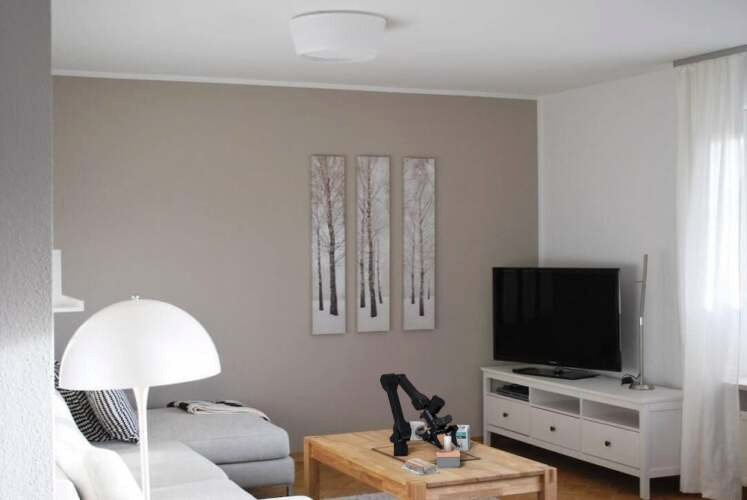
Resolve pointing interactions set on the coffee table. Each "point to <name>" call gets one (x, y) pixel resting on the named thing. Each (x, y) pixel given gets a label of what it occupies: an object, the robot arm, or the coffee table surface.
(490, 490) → the coffee table surface
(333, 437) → the coffee table surface
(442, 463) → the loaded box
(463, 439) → the light bulb box
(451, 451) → the lid
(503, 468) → the coffee table surface
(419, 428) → the mug
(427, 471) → the packaged product
